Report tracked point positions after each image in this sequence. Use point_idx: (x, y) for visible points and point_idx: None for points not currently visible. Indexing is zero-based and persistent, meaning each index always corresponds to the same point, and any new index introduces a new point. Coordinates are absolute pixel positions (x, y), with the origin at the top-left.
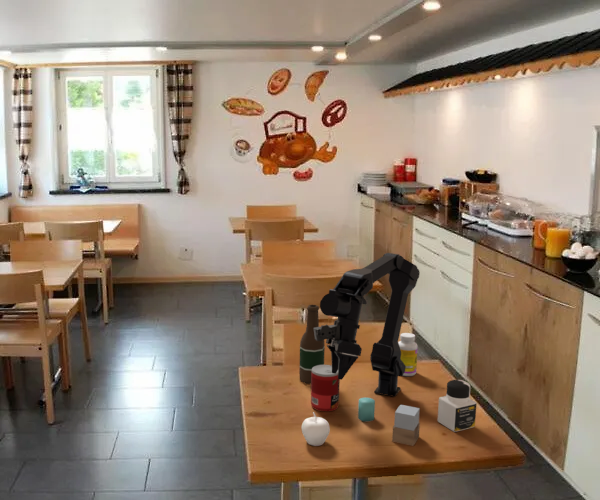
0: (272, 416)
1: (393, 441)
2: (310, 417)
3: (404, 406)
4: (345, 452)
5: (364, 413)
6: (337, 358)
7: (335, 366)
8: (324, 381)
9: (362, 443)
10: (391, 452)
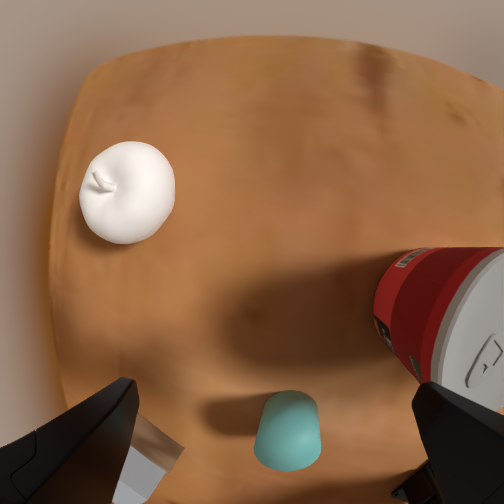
0: (358, 97)
1: (137, 414)
2: (136, 168)
3: (134, 498)
4: (93, 274)
5: (263, 415)
6: (476, 475)
7: (441, 428)
8: (428, 311)
9: (129, 339)
10: (92, 382)
